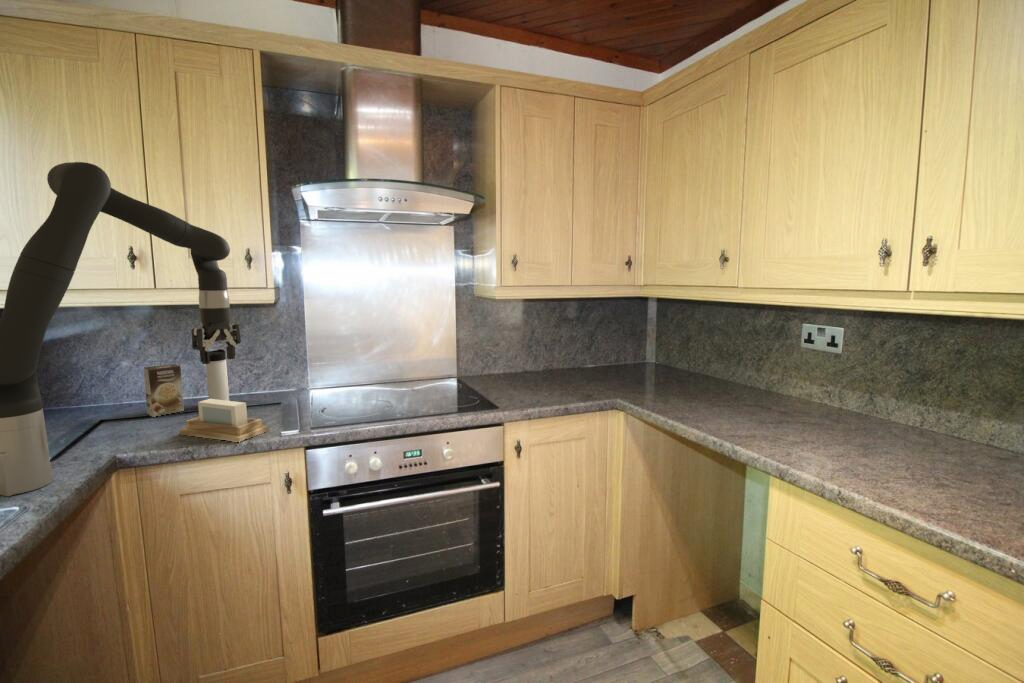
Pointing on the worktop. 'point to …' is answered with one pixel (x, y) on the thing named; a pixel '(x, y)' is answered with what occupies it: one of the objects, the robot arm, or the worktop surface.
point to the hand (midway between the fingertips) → (218, 361)
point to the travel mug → (217, 375)
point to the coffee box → (163, 389)
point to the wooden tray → (224, 429)
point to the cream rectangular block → (223, 412)
